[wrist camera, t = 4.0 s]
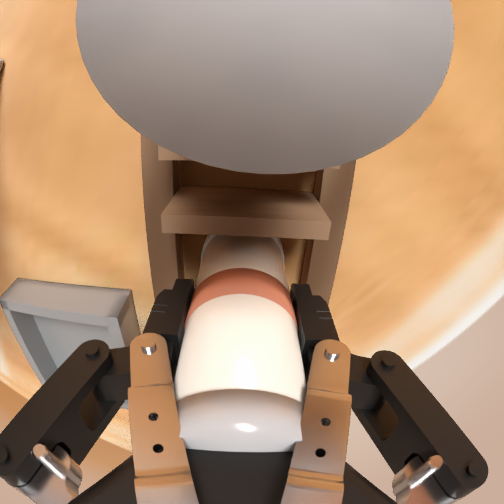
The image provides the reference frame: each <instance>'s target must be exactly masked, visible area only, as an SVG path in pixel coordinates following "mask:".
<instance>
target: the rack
mask: <svg viewBox="0 0 504 504" xmlns="http://www.w3.org/2000/svg"><path fill="white" fill-rule="evenodd" d="M141 157H142V179H143V195H144V209H145V221H146V232H147V242H148V251H149V260H150V268H151V276H152V283H153V290H154V297H155V300H156V297H157V295H158V294H159V293H161V292H162V291H163V290H164V289H171V290H172V289H173V286H174V283H175V280H176V279H184V271H183V255H182V237H181V234H205V235H230V236H254V237H275V238H296V239H307V243H306V250H305V256H304V263H303V269H302V276H301V282H300V284H309V286H310V289H311V292H312V295H320V296H321V297H322V298H323V299H324V300H325V301H326V302H327V304H329V299H330V295H331V291H332V287H333V282H334V278H335V273H336V269H337V264H338V259H339V255H340V250H341V245H342V240H343V235H344V229H345V224H346V219H347V213H348V207H349V202H350V196H351V190H352V183H353V177H354V170H355V163H356V160H353V161H350V162H348V163H345V164H342V165H339V166H335V167H330V168H326V169H322V170H317V171H316V176H315V184H314V192H300V191H286V190H269V189H250V188H226V187H189V186H181V187H180V176H179V160H191V159H188V158H185V157H182V156H180V155H178V154H176V153H174V152H172V151H170V150H168V149H166V148H163V147H161V146H159V145H158V144H156V143H154V142H153V141H151V140H150V139H148V138H147V137H145V136H144V135H142V134H141Z"/></svg>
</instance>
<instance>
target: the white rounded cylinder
mask: <svg viewBox="0 0 504 504" xmlns="http://www.w3.org/2000/svg"><path fill="white" fill-rule="evenodd" d="M76 28H77V38H78V44H79V47H80V51H81V55H82V59H83V62H84V64H85V66H86V69H87V71H88V73H89V75H90V77H91V80H92V81H93V83H94V84H95V86H96V88H97V89H98V91H99V92H100V94H101V95H102V97H103V98H104V100H105V101H106V102H107V103H108V104H109V105H110V106H111V107H112V109H113V110H114V111H115V112H116V113H117V114H118V115H119V116H120V117H121V118H122V119H123V120H124V121H126V122H127V123H128V124H129V125H130V126H132V127H133V128H134V129H135V130H136V131H137V132H139V133H140V134H142V135H144V136H145V137H147V138H148V139H150V140H151V141H153V142H154V143H156V144H158V145H159V146H161V147H163V148H166V149H168V150H170V151H172V152H174V153H176V154H178V155H180V156H182V157H185V158H188V159H191V160H194V161H197V162H200V163H203V164H205V165H209V166H213V167H218V168H222V169H227V170H231V171H238V172H247V173H256V174H293V173H302V172H311V171H317V170H322V169H326V168H330V167H335V166H339V165H342V164H345V163H348V162H350V161H353V160H356V159H359V158H362V157H364V156H366V155H368V154H370V153H372V152H374V151H376V150H378V149H380V148H382V147H384V146H385V145H387V144H388V143H390V142H391V141H392V140H394V139H395V138H397V137H398V136H400V135H401V134H403V133H404V132H405V131H406V130H407V129H408V128H409V127H410V126H411V125H412V124H413V123H415V122H416V121H417V120H418V119H419V118H420V116H421V115H422V114H423V113H424V111H425V110H426V109H427V108H428V107H429V105H430V104H431V103H432V101H433V99H434V98H435V96H436V94H437V93H438V91H439V89H440V87H441V86H442V83H443V81H444V78H445V76H446V73H447V70H448V68H449V64H450V60H451V55H452V50H453V40H454V21H453V11H452V6H451V1H450V0H77V11H76Z"/></svg>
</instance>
